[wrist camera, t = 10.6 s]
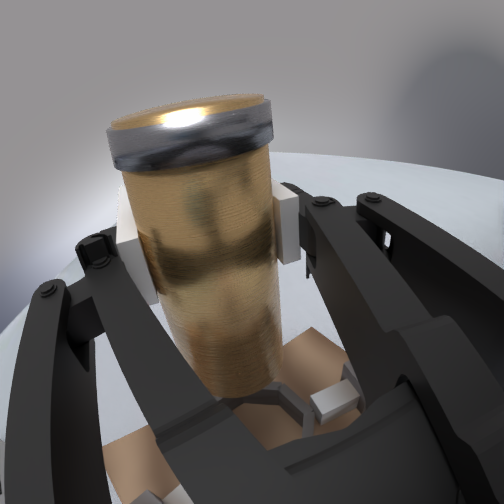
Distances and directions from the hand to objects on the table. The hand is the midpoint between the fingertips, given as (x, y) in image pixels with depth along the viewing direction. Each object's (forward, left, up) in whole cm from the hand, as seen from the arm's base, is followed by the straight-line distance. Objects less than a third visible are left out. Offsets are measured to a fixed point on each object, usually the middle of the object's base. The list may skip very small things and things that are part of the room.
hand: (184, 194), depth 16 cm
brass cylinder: (-2, +5, -7) cm, 9 cm away
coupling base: (-2, +5, -20) cm, 20 cm away
